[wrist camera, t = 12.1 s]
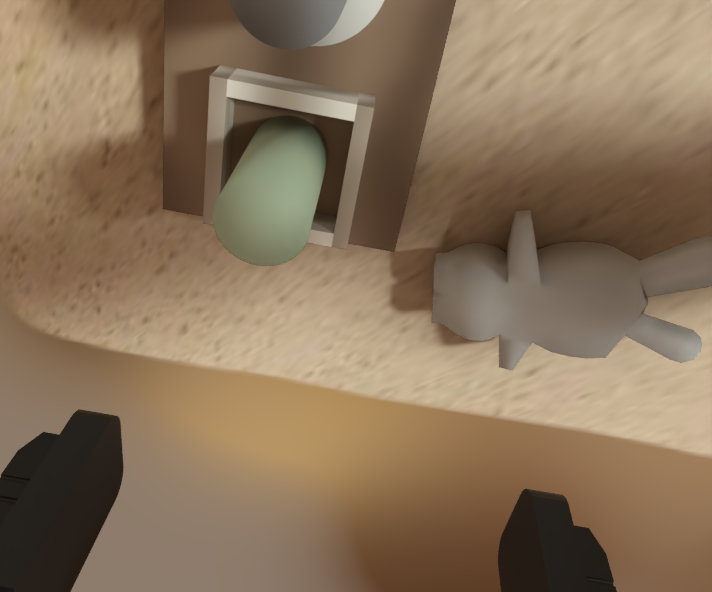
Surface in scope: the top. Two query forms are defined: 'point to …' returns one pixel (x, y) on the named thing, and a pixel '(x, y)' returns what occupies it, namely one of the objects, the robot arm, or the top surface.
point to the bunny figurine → (565, 295)
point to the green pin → (273, 192)
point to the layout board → (303, 100)
